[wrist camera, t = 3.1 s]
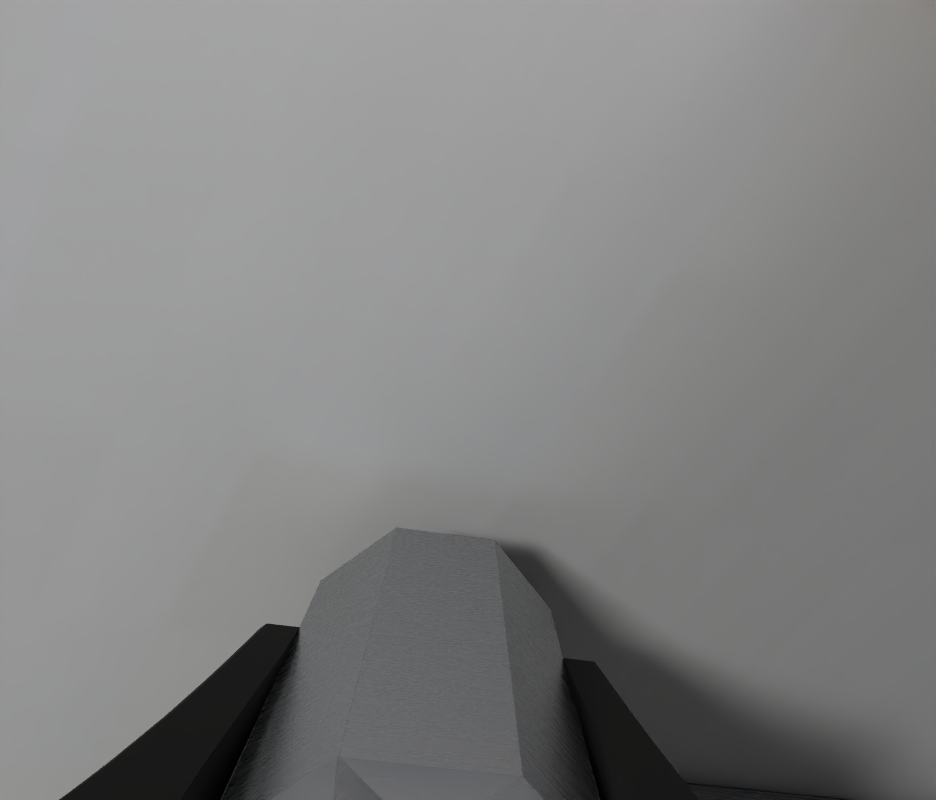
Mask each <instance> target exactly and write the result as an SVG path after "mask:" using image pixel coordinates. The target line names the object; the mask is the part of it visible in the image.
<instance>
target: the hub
mask: <svg viewBox="0 0 936 800" xmlns="http://www.w3.org/2000/svg"><path fill="white" fill-rule="evenodd" d="M221 800H600V799H599V795H598V791H597V787H596V783H595V779H594V775H593V772H592V768H591V764H590V760H589V756H588V752H587V748H586V745H585V741H584V737H583V733H582V729H581V725H580V721H579V718H578V714H577V710H576V707H575V704H574V700H573V696H572V692H571V689H570V685H569V681H568V677H567V673H566V669H565V665H564V662H563V656H562V652H561V648H560V644H559V641H558V637H557V633H556V629H555V625H554V621H553V617H552V614H551V610H550V608H549V606H548V605H547V604H546V603H545V602H544V600H543V599H542V598H541V597H540V595H539V594H538V593H537V592H536V590H535V589H534V588H533V587H532V586H531V584H530V583H529V582H528V581H527V579H526V578H525V577H524V576H523V575H522V573H521V572H520V571H519V570H518V568H517V567H516V566H515V565H514V563H513V562H512V561H511V560H510V559H509V557H508V556H507V555H506V554H505V552H504V551H503V550H502V549H501V548H500V546H499V545H498V544H497V543H496V541H495V540H490V539H482V538H474V537H466V536H458V535H450V534H443V533H435V532H427V531H419V530H411V529H403V528H395V529H394V530H393V531H391V532H390V533H388V534H387V535H385V536H384V537H383V538H381V539H380V540H378V541H377V542H375V543H374V544H373V545H371V546H370V547H368V548H367V549H365V550H364V551H363V552H361V553H360V554H358V555H357V556H355V557H354V558H353V559H351V560H350V561H348V562H347V563H345V564H344V565H343V566H341V567H340V568H338V569H337V570H335V571H334V572H333V573H331V574H330V575H328V576H327V577H325V578H324V579H323V580H321V581H320V584H319V586H318V588H317V590H316V592H315V595H314V597H313V599H312V601H311V603H310V606H309V608H308V610H307V612H306V614H305V616H304V619H303V621H302V623H301V625H300V628H299V631H298V633H297V635H296V637H295V639H294V642H293V644H292V646H291V648H290V650H289V653H288V655H287V657H286V659H285V661H284V663H283V666H282V668H281V670H280V672H279V673H278V676H277V678H276V680H275V682H274V684H273V686H272V689H271V691H270V693H269V695H268V697H267V700H266V702H265V704H264V706H263V708H262V711H261V713H260V715H259V717H258V719H257V722H256V724H255V726H254V728H253V730H252V732H251V735H250V737H249V739H248V741H247V743H246V746H245V748H244V750H243V752H242V754H241V757H240V759H239V761H238V763H237V765H236V767H235V770H234V772H233V774H232V776H231V778H230V781H229V783H228V785H227V787H226V789H225V792H224V794H223V796H222V798H221Z"/></svg>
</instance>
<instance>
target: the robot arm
mask: <svg viewBox="0 0 936 800" xmlns="http://www.w3.org/2000/svg"><path fill="white" fill-rule="evenodd" d="M299 628H300V627H292V626H283V625H275V624H265V625H264V626H263V627H261V628H260V629H259V630H258V631H257V632H256V633H255V634H254V635H253V636H252V637H251V638H250V639H249V640H248V641H247V642H245V643H244V644H243V645H242V646H241V647H240V648H239V649H238V650H237V651H236V652H235V653H234V654H233V655H232V656H231V657H230V658H229V659H228V660H227V661H226V662H225V663H224V664H222V665H221V666H220V667H219V668H218V669H217V670H216V671H215V672H214V673H213V674H212V675H211V676H210V677H209V678H207V679H206V680H205V681H204V682H203V683H202V684H201V685H200V686H198V687H197V688H196V689H195V690H194V691H193V692H192V693H191V694H190V695H188V696H187V697H186V698H185V699H184V700H183V701H182V702H181V703H179V704H178V705H177V706H176V707H175V708H174V709H173V710H172V711H170V712H169V713H168V714H167V715H166V716H165V717H163V718H162V719H161V720H160V721H159V722H157V723H156V724H155V725H154V726H153V727H151V728H150V729H149V730H148V731H146V732H145V733H144V734H143V735H142V736H140V737H139V738H138V739H137V740H135V741H134V742H133V743H132V744H131V745H129V746H128V747H127V748H126V749H124V750H123V751H122V752H121V753H120V754H118V755H117V756H116V757H115V758H113V759H112V760H111V761H110V762H108V763H107V764H106V765H105V766H103V767H102V768H101V769H99V770H98V771H97V772H95V773H94V774H93V775H92V776H90V777H89V778H88V779H86V780H85V781H84V782H82V783H81V784H80V785H78V786H77V787H76V788H74V789H73V790H72V791H70V792H69V793H68V794H66V795H65V796H64V797H62V798H61V799H59V800H221V798H222V796H223V794H224V792H225V789H226V787H227V785H228V783H229V781H230V778H231V776H232V774H233V772H234V770H235V767H236V765H237V763H238V761H239V759H240V757H241V754H242V752H243V750H244V748H245V746H246V743H247V741H248V739H249V737H250V735H251V732H252V730H253V728H254V726H255V724H256V722H257V719H258V717H259V715H260V713H261V711H262V708H263V706H264V704H265V702H266V700H267V697H268V695H269V693H270V691H271V689H272V686H273V684H274V682H275V680H276V678H277V676H278V673H279V672H280V670H281V668H282V666H283V663H284V661H285V659H286V657H287V655H288V653H289V650H290V648H291V646H292V644H293V642H294V639H295V637H296V635H297V633H298V631H299ZM563 662H564V665H565V669H566V673H567V677H568V681H569V685H570V689H571V692H572V696H573V700H574V704H575V707H576V710H577V714H578V718H579V721H580V725H581V729H582V733H583V737H584V741H585V745H586V748H587V752H588V756H589V760H590V764H591V768H592V772H593V775H594V779H595V783H596V787H597V791H598V795H599V799H600V800H699V799H698V797H697V796H696V795H695V794H694V793H693V792H692V790H691V789H690V788H689V787H688V785H687V784H686V783H685V782H684V780H683V779H682V778H681V777H680V776H679V774H678V773H677V772H676V771H675V769H674V768H673V767H672V765H671V764H670V763H669V762H668V760H667V759H666V758H665V756H664V755H663V754H662V753H661V751H660V750H659V749H658V747H657V746H656V745H655V744H654V742H653V741H652V740H651V738H650V737H649V736H648V734H647V733H646V732H645V730H644V729H643V728H642V726H641V725H640V724H639V722H638V721H637V719H636V718H635V717H634V715H633V714H632V713H631V711H630V710H629V709H628V707H627V706H626V704H625V703H624V702H623V700H622V699H621V698H620V696H619V695H618V693H617V692H616V691H615V689H614V688H613V687H612V685H611V684H610V682H609V681H608V680H607V678H606V677H605V676H604V674H603V673H602V672H601V670H600V669H599V667H598V666H597V665H596V663H595V662H592V661H583V660H575V659H566V658H563Z"/></svg>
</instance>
